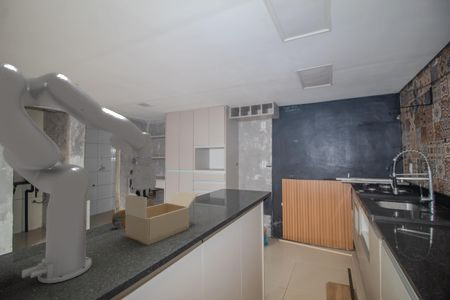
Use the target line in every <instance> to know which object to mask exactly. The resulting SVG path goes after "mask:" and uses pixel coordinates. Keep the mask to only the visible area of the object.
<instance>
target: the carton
mask: <svg viewBox="0 0 450 300" xmlns="http://www.w3.org/2000/svg"><path fill="white" fill-rule="evenodd" d="M124 230H125V231H124V233H125V234H124V236H125V238H129V239H131V240H133V241H136V242H139V243H141V244H143V245H145V246H151V245H152V244H155V243H157V242H159V241H162V240H165V239H167V238H169V237H171V236H174V235H177V234H179V233H181V232H183V231H186V230H190V207H186V206H181V205H176V204H171V203H169V202H164V203H163V204H159V205H155V206H150V207H147V219H143V218H140V217H136V216H133V215H129V214H126V218H125V228H124Z"/></svg>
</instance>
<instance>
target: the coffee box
mask: <svg viewBox="0 0 450 300" xmlns="http://www.w3.org/2000/svg"><path fill="white" fill-rule="evenodd" d="M163 203H165V188H162V187H156V186H155V187H154V189H153V190H151V191H150V192H149V193H148V196H147V207H150V206H155V205H159V204H163Z"/></svg>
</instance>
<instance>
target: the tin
mask: <svg viewBox="0 0 450 300" xmlns="http://www.w3.org/2000/svg"><path fill="white" fill-rule="evenodd" d="M125 218H126V213H125V209H121V210H119V211H116V212H115V213H114V214H113V216H112V218H111V222H112V225H113V227H114V228H116V229H118V230H119V229H125Z"/></svg>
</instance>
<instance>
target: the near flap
mask: <svg viewBox="0 0 450 300" xmlns="http://www.w3.org/2000/svg"><path fill="white" fill-rule="evenodd" d="M124 204H125V206H124V207H125V208H124V210H125V213H126V214H129V215H133V216H136V217H140V218H143V219H147V198H146V197H140V196H137V195H136V194H131V193H126V194H125V202H124Z"/></svg>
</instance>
